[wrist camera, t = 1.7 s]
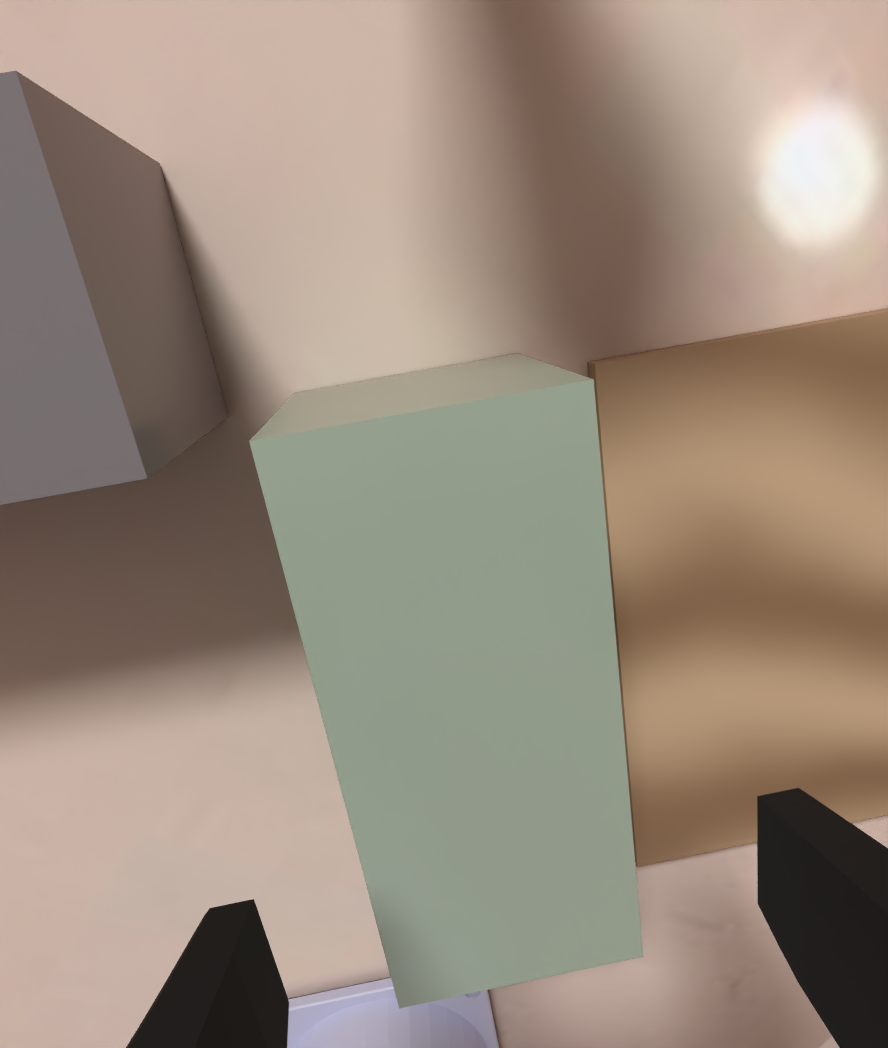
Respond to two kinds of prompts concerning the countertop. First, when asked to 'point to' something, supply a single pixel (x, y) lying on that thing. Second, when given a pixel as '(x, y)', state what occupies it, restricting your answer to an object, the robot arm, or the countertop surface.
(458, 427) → the sage cover
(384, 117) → the countertop surface
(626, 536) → the cork trivet
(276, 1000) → the robot arm
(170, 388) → the gray block
